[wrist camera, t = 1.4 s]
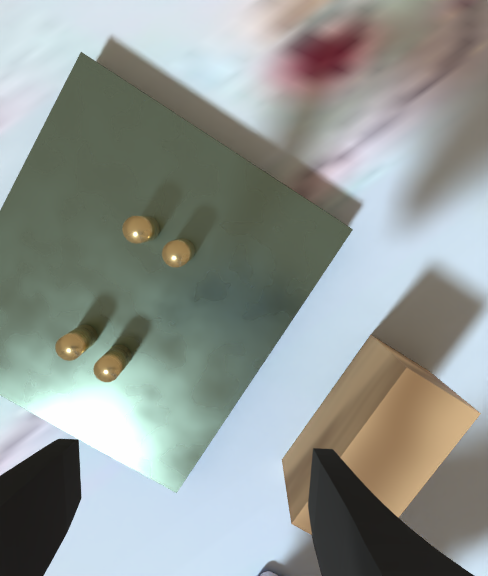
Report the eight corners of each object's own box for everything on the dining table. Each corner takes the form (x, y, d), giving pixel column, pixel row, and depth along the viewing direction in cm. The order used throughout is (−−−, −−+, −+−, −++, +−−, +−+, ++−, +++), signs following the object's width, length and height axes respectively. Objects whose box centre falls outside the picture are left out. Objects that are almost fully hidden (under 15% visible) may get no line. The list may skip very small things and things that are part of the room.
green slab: (345, 228, 20) (365, 230, 17) (180, 475, 23) (169, 520, 19) (93, 64, 19) (60, 30, 16) (-52, 345, 22) (-108, 369, 18)
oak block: (427, 370, 22) (480, 413, 17) (337, 490, 23) (362, 563, 18) (369, 333, 22) (406, 367, 17) (281, 458, 23) (291, 523, 18)
